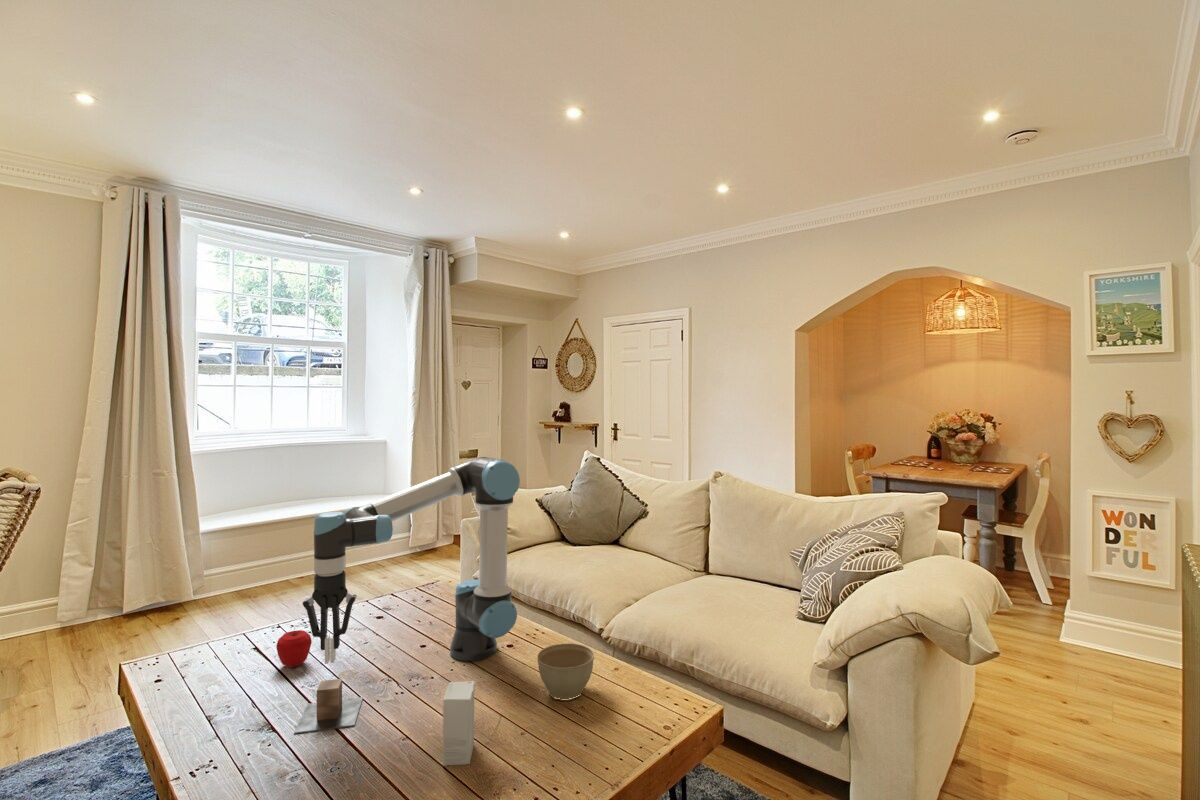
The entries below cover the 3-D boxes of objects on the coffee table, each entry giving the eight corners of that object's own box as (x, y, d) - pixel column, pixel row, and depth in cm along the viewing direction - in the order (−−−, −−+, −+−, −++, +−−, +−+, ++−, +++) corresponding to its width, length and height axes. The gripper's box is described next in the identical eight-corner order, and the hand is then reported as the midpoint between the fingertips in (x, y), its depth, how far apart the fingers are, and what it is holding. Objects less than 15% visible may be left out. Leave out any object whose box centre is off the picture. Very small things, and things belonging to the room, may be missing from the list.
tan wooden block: (342, 707, 155) (342, 678, 155) (338, 717, 150) (338, 688, 150) (321, 710, 154) (321, 681, 154) (316, 720, 149) (316, 690, 149)
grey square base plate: (362, 698, 161) (362, 675, 161) (354, 726, 147) (354, 701, 147) (308, 705, 157) (307, 681, 157) (294, 734, 144) (294, 708, 144)
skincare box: (448, 745, 139) (448, 680, 139) (476, 743, 140) (475, 679, 140) (441, 767, 131) (441, 699, 131) (471, 765, 132) (471, 697, 131)
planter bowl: (603, 685, 168) (603, 648, 168) (578, 713, 153) (578, 672, 153) (555, 674, 175) (555, 638, 175) (526, 700, 160) (526, 661, 160)
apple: (269, 669, 178) (269, 634, 178) (296, 656, 187) (295, 622, 187) (292, 675, 174) (292, 639, 174) (318, 661, 183) (318, 627, 183)
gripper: (359, 566, 157) (360, 652, 158) (305, 569, 154) (305, 657, 154) (355, 574, 150) (355, 664, 150) (297, 578, 147) (298, 670, 147)
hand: (330, 660), depth 152 cm, fingers closed
